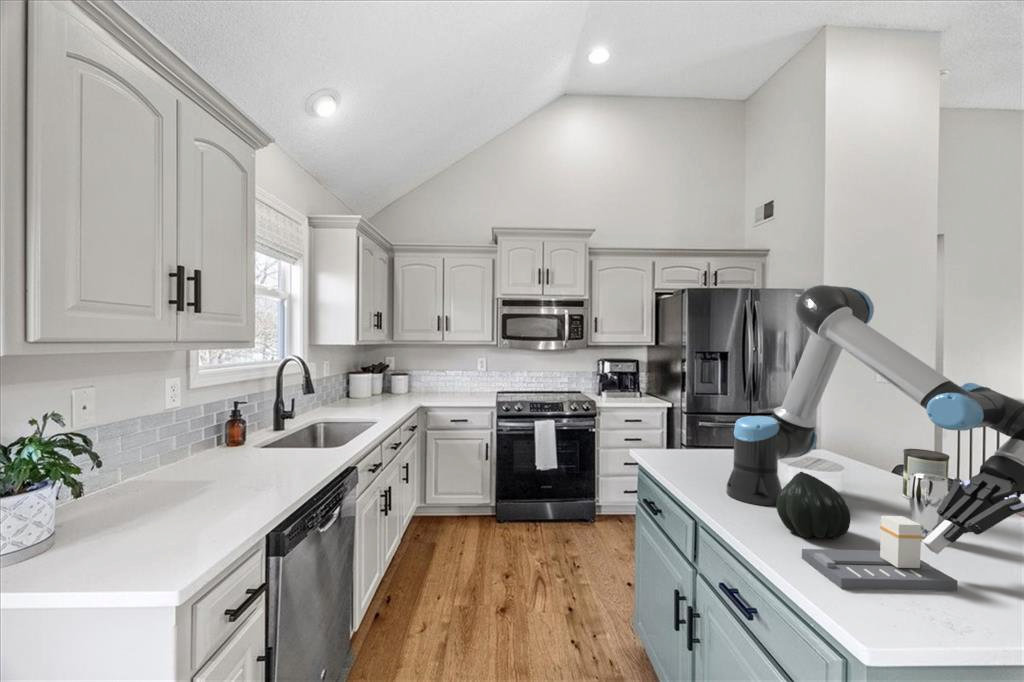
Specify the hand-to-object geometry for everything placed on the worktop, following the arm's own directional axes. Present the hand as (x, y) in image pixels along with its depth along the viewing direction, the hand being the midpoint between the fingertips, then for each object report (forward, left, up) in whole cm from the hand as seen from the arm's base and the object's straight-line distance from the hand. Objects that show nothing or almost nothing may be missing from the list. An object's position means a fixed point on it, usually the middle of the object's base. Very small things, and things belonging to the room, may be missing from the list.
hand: (929, 547), depth 93 cm
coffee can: (-20, +57, -6) cm, 60 cm away
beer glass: (-8, +21, -6) cm, 23 cm away
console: (-6, -9, -6) cm, 12 cm away
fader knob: (-3, -5, -3) cm, 7 cm away
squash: (-23, -1, -6) cm, 23 cm away
